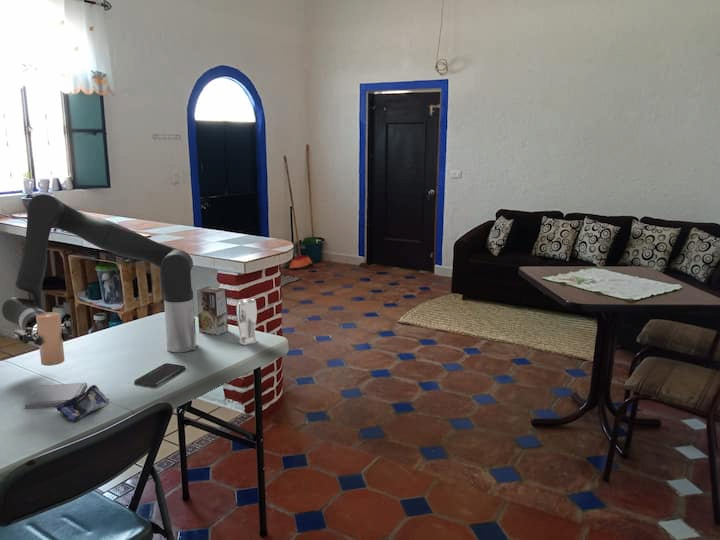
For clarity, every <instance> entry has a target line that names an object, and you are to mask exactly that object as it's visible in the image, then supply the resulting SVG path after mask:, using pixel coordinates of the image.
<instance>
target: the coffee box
mask: <svg viewBox="0 0 720 540" xmlns="http://www.w3.org/2000/svg"><path fill="white" fill-rule="evenodd" d="M227 295H228V293H227V288H221V287H215V286H214V287H213V286H204V287H202V288H199V289H197V290H196V302H197V303H196V304H197V316H198V317H197V318H198V332H199V331H200V332H199V333H203V332H206V333H205V334H209V333H211V334H210V335H214V334H216V335H215V336H220V335H222V334H224V333H227V332H228V331H229V319H228V318H229V316H228V298H227V297H228V296H227ZM221 333H222V334H221Z"/></svg>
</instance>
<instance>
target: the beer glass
mask: <svg viewBox="0 0 720 540" xmlns="http://www.w3.org/2000/svg"><path fill="white" fill-rule="evenodd" d="M235 308H236V309H235V311H236V320H237V326H238V330H239V336H238V343H240V345H242V344H243V345H242V346H250V345H254V344H256V343H257V338H256V337H257V336H256V327H257V318H258V314H257V313H258V311H257V302H256V299H254V298H241V299H238V300H236V307H235Z"/></svg>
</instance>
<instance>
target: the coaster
mask: <svg viewBox="0 0 720 540" xmlns="http://www.w3.org/2000/svg"><path fill="white" fill-rule="evenodd" d="M87 386H88V384H87V382H75V383H74V382H73V383H59V384H58V383H57V384H50V385H49V384H47V385H46V384H45V385H39V386H38V388H37V389H36V390H35V392H33V393H32V395H30V398H29V399H28V400H27V401H26V402H25V404H24V409H35V408H36V409H38V408H47V407H49V408H50V407H58V406H59V405H60V404H63V403H64V402H65V401H67V400H70V399H72V398H74V397H76V396H78V395H81V394H83V393H84V392H85V389H86V388H87ZM81 392H82V393H81Z"/></svg>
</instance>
